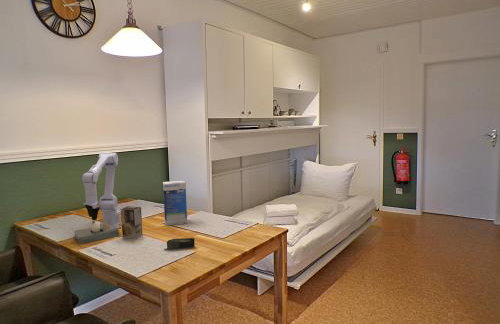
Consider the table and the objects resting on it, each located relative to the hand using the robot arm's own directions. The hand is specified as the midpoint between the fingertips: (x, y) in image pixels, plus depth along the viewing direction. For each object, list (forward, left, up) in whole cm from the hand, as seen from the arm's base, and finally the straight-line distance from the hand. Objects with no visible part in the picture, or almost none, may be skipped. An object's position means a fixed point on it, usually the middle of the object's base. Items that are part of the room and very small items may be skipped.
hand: (93, 218), depth 190 cm
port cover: (-9, +4, -6) cm, 12 cm away
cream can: (0, +4, -8) cm, 9 cm away
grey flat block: (-1, +3, -10) cm, 10 cm away
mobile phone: (-30, +47, -10) cm, 57 cm away
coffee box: (-17, +15, -10) cm, 24 cm away
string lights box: (-46, +7, -10) cm, 47 cm away
